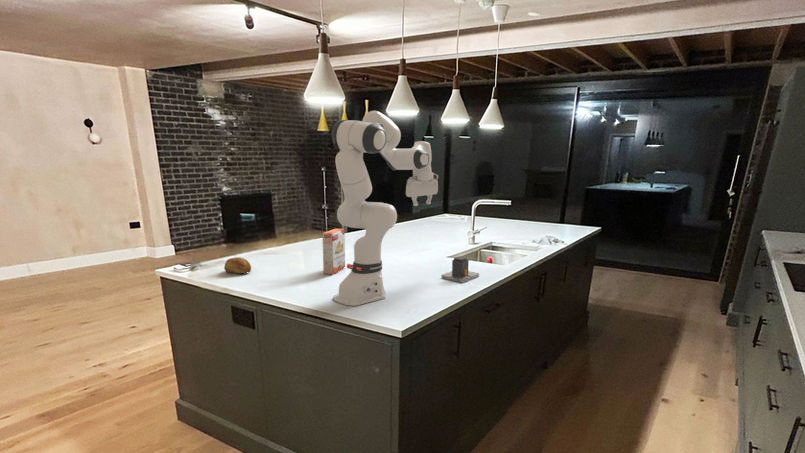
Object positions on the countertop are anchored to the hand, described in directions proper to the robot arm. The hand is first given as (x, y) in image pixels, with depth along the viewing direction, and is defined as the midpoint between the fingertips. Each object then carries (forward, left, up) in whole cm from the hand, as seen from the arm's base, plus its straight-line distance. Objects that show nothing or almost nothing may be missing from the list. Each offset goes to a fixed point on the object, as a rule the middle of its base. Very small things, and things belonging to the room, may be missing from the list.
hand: (422, 205), depth 191 cm
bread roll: (-61, +71, -34) cm, 99 cm away
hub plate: (+7, -18, -34) cm, 39 cm away
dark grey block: (+7, -18, -33) cm, 38 cm away
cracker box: (-26, +36, -34) cm, 56 cm away
